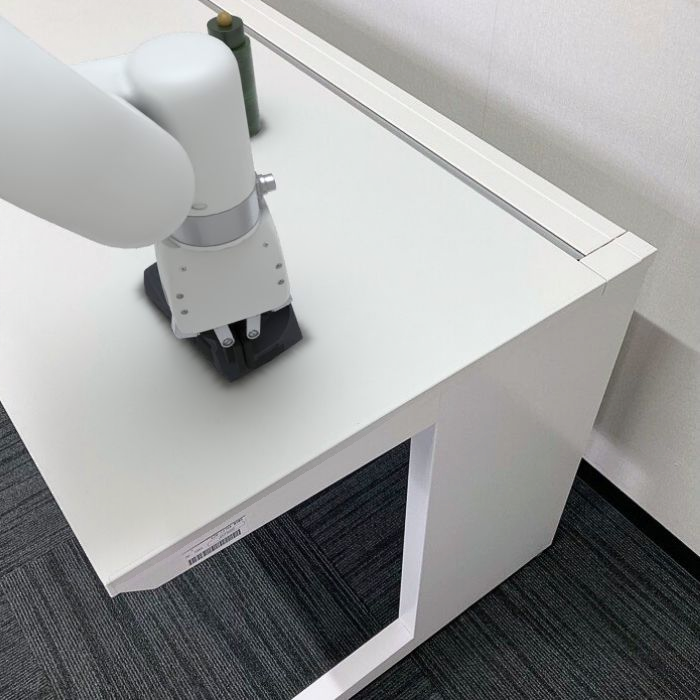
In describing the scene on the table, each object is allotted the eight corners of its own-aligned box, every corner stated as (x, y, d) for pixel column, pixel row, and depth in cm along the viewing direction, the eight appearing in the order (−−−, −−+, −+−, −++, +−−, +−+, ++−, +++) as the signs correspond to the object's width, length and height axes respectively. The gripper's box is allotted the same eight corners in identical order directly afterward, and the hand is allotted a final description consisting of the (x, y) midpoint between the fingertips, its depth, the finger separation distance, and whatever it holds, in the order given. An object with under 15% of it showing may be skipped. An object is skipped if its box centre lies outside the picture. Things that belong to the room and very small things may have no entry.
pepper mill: (226, 143, 101) (207, 26, 89) (214, 122, 104) (194, 7, 92) (266, 133, 102) (253, 17, 90) (253, 112, 106) (238, -2, 94)
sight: (206, 249, 87) (191, 176, 79) (304, 339, 77) (297, 265, 70) (134, 287, 83) (111, 213, 75) (228, 386, 73) (212, 313, 66)
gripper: (285, 153, 62) (303, 310, 76) (102, 203, 58) (156, 358, 72) (319, 206, 57) (332, 363, 71) (122, 263, 54) (175, 417, 68)
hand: (243, 360), depth 72 cm, fingers closed
